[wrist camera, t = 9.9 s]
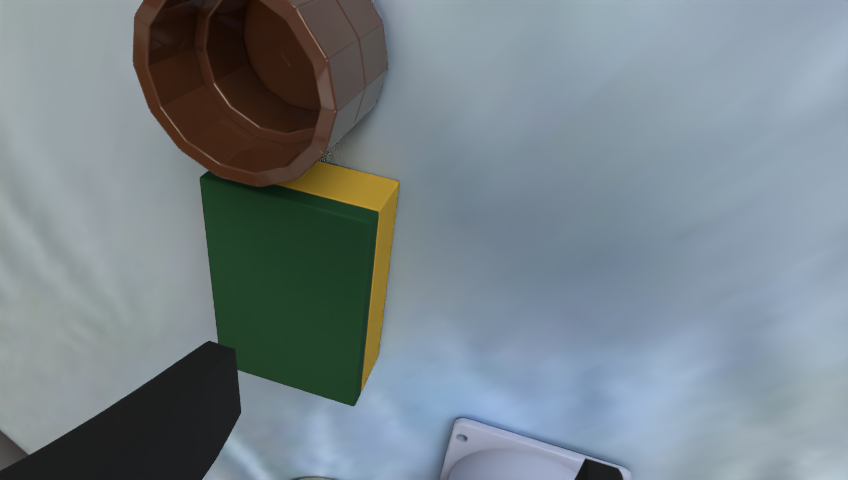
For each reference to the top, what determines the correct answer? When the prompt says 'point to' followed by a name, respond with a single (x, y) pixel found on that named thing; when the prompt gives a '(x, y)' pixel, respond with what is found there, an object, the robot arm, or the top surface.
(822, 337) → the top surface
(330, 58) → the brown hollow cylinder
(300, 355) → the sponge
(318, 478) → the mug
